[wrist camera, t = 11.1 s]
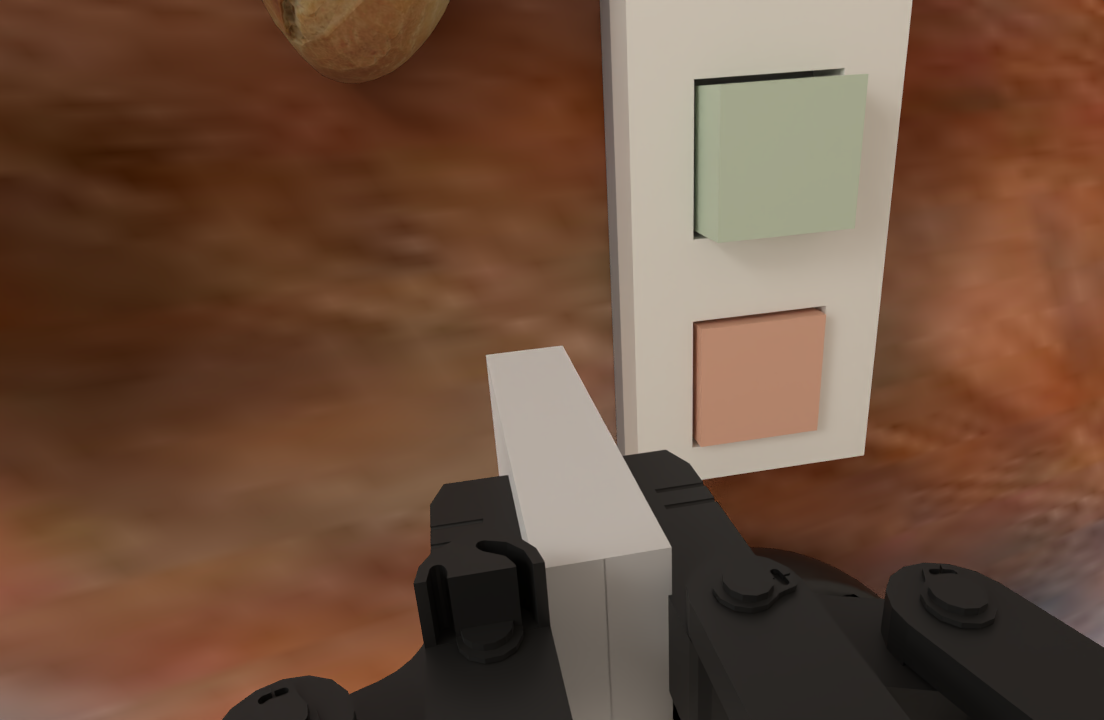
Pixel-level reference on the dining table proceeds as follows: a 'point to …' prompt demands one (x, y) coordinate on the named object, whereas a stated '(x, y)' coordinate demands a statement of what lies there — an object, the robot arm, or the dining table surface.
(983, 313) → the dining table surface
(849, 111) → the button sage
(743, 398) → the button terracotta
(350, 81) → the bread roll
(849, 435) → the console
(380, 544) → the dining table surface
